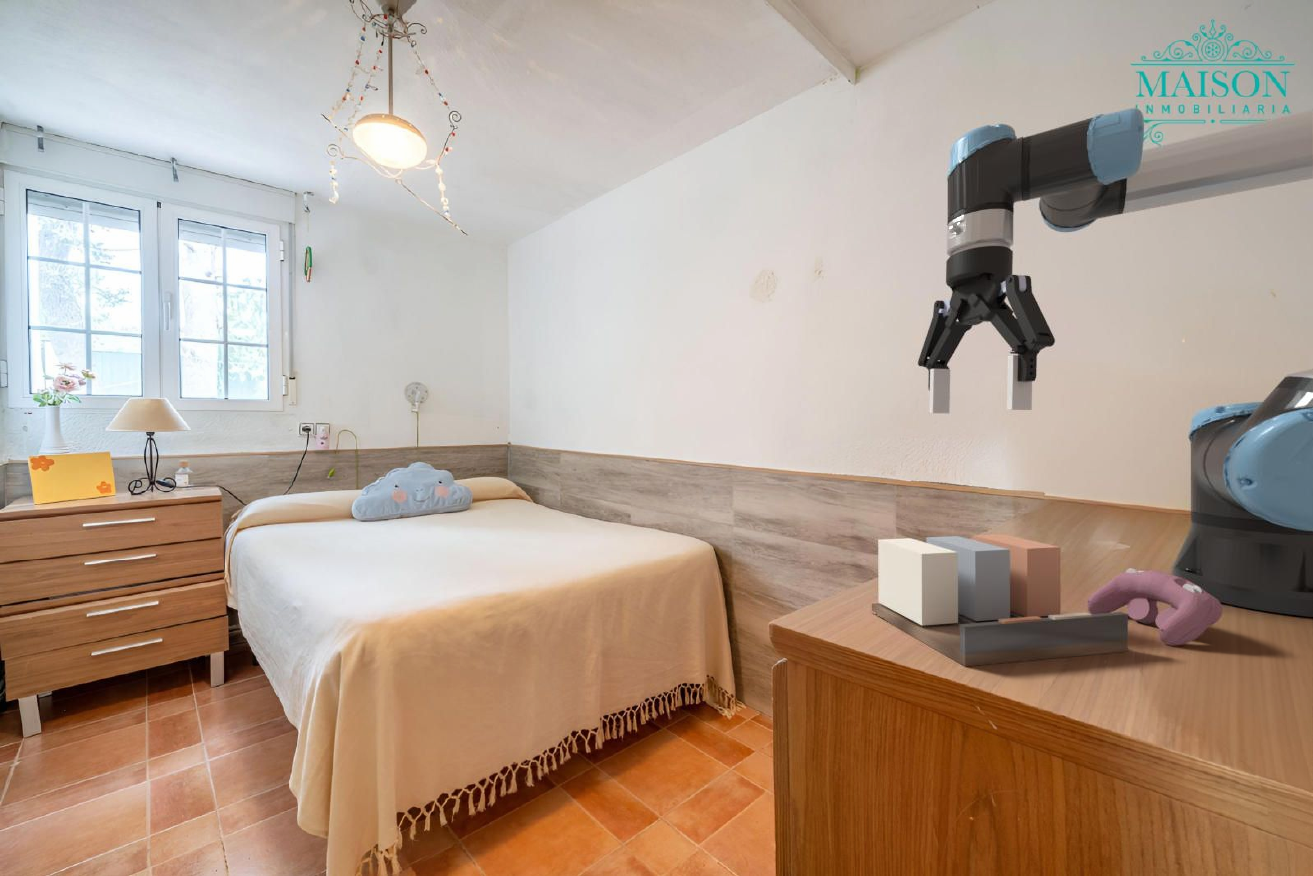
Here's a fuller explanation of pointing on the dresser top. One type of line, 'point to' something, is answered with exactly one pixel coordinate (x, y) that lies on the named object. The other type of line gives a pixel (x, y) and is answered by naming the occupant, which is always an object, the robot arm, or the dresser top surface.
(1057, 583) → the terracotta block
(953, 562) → the cream white block
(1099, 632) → the tray
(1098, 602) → the video game controller
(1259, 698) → the dresser top surface
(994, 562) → the blue-grey block
